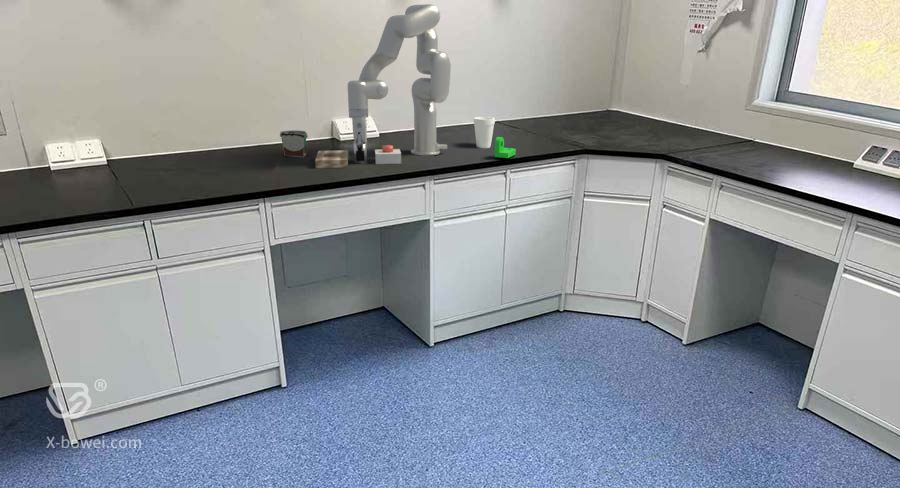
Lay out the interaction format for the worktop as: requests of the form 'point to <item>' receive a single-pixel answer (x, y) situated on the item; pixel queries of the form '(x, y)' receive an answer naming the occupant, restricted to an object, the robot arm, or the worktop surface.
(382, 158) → the button station
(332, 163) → the pallet
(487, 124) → the foam cup
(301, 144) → the food container
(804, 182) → the worktop surface
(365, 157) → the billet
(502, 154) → the mechanical part
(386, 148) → the button
